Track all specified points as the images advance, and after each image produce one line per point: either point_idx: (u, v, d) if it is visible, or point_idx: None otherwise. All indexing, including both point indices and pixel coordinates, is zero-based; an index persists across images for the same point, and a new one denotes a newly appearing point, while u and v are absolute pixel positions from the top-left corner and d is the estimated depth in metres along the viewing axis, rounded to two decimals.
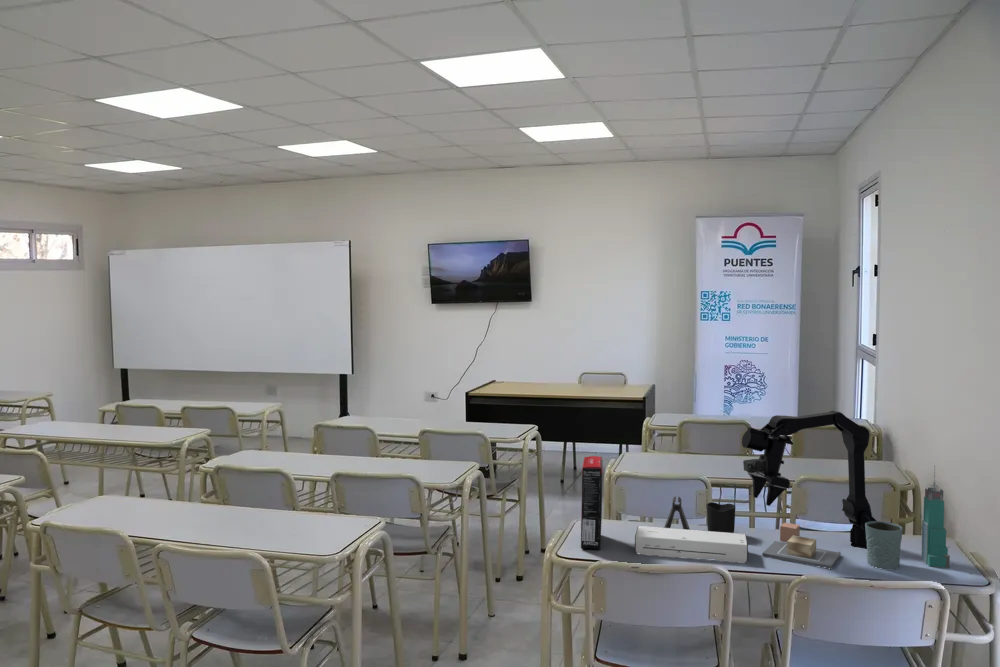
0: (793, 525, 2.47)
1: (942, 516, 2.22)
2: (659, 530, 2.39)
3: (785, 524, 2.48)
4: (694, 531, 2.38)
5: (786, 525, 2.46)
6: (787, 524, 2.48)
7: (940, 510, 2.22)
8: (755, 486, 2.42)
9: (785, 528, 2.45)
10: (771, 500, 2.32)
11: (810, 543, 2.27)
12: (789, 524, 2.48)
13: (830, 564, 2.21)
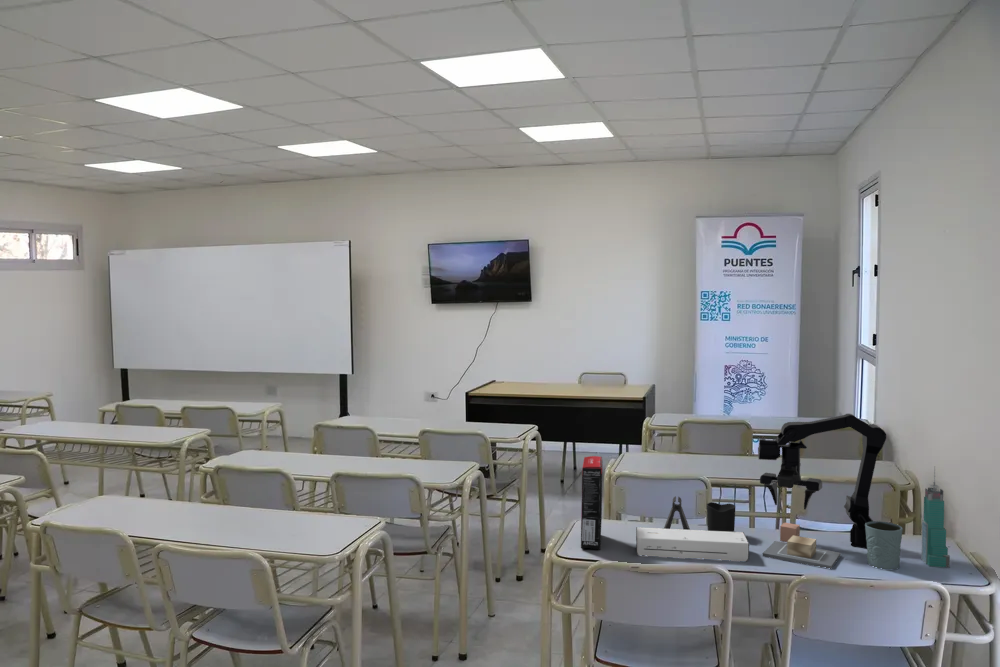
0: (793, 525, 2.47)
1: (942, 516, 2.22)
2: (659, 531, 2.38)
3: (785, 524, 2.48)
4: (693, 531, 2.38)
5: (786, 525, 2.46)
6: (787, 524, 2.48)
7: (940, 510, 2.22)
8: (775, 494, 2.48)
9: (785, 528, 2.45)
10: (807, 504, 2.43)
11: (810, 543, 2.27)
12: (789, 524, 2.48)
13: (830, 564, 2.21)
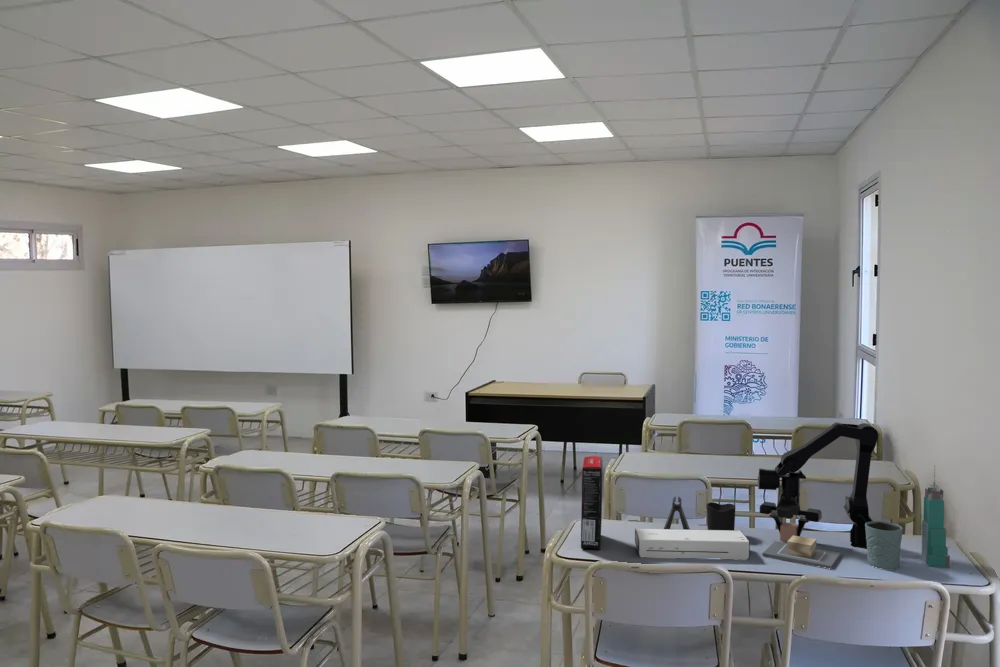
0: (793, 525, 2.47)
1: (942, 516, 2.22)
2: (659, 532, 2.37)
3: (785, 524, 2.48)
4: (692, 531, 2.38)
5: (786, 525, 2.46)
6: (787, 524, 2.48)
7: (940, 510, 2.22)
8: (780, 525, 2.48)
9: (785, 528, 2.45)
10: (800, 533, 2.45)
11: (810, 543, 2.27)
12: (789, 524, 2.48)
13: (830, 564, 2.21)
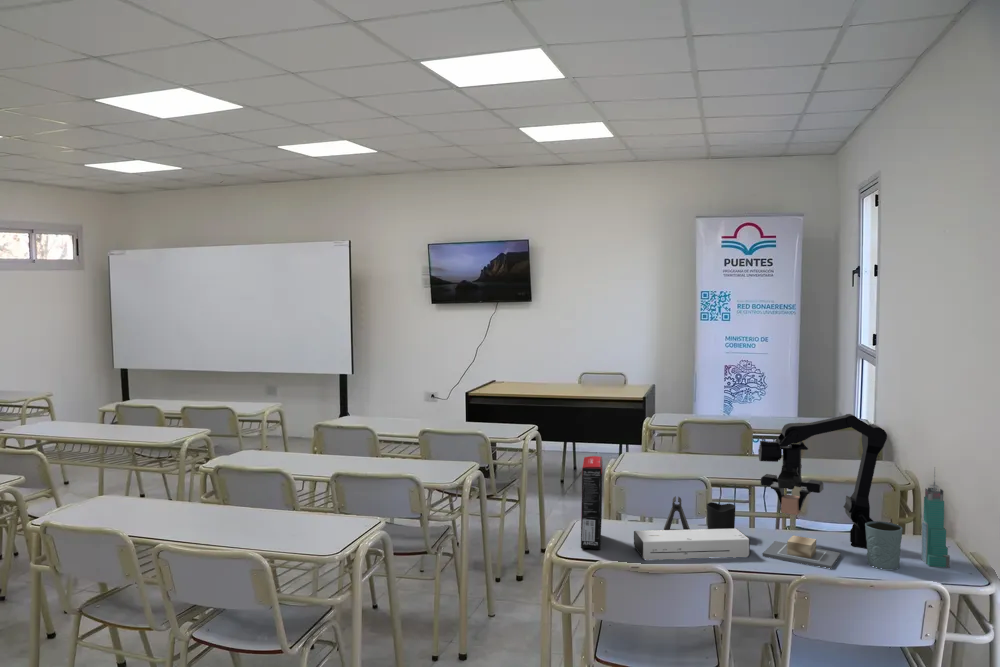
0: (795, 496, 2.45)
1: (942, 516, 2.22)
2: (659, 533, 2.36)
3: (786, 496, 2.46)
4: (690, 530, 2.39)
5: (787, 497, 2.44)
6: (788, 496, 2.46)
7: (940, 510, 2.22)
8: (781, 497, 2.46)
9: (786, 499, 2.43)
10: (802, 504, 2.43)
11: (810, 543, 2.27)
12: (790, 496, 2.46)
13: (830, 564, 2.21)
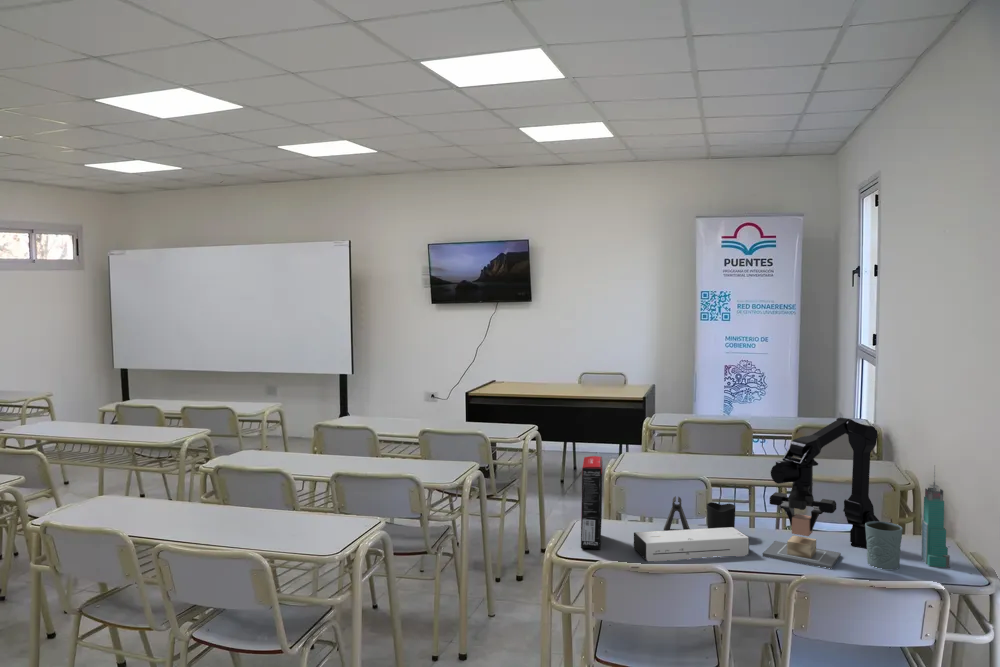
0: (806, 516, 2.31)
1: (942, 516, 2.22)
2: (659, 534, 2.35)
3: (797, 516, 2.32)
4: (689, 530, 2.39)
5: (798, 517, 2.30)
6: (799, 516, 2.32)
7: (940, 510, 2.22)
8: (792, 516, 2.32)
9: (797, 520, 2.29)
10: (813, 525, 2.29)
11: (810, 543, 2.27)
12: (801, 515, 2.32)
13: (830, 564, 2.21)
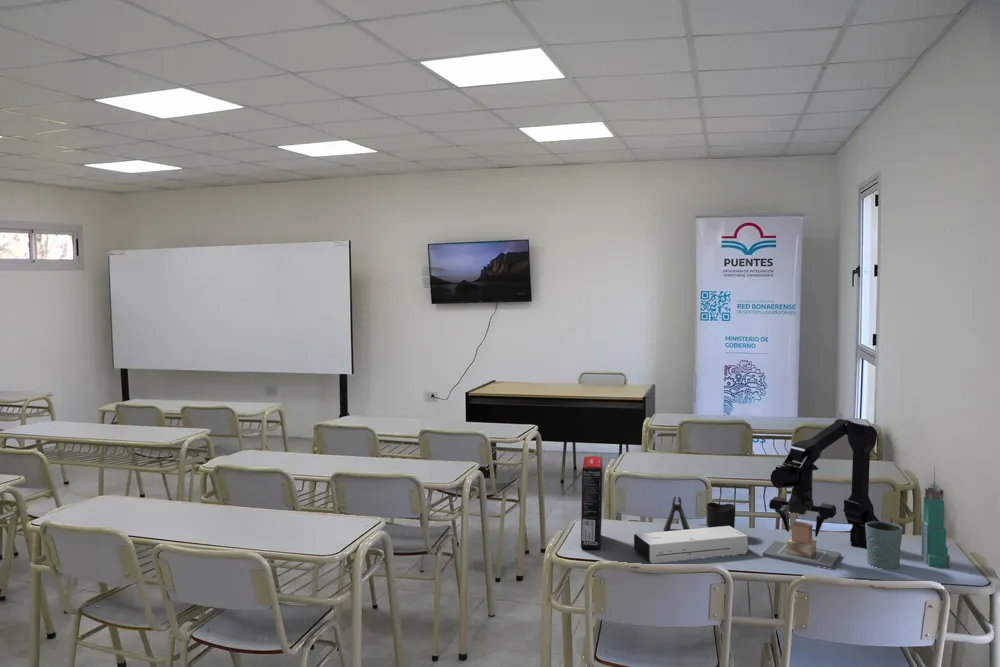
0: (806, 524, 2.31)
1: (942, 516, 2.22)
2: (660, 535, 2.34)
3: (797, 523, 2.32)
4: (688, 530, 2.39)
5: (798, 524, 2.30)
6: (799, 523, 2.32)
7: (940, 510, 2.22)
8: (786, 520, 2.33)
9: (797, 527, 2.29)
10: (819, 530, 2.28)
11: (810, 543, 2.27)
12: (801, 523, 2.32)
13: (830, 564, 2.21)
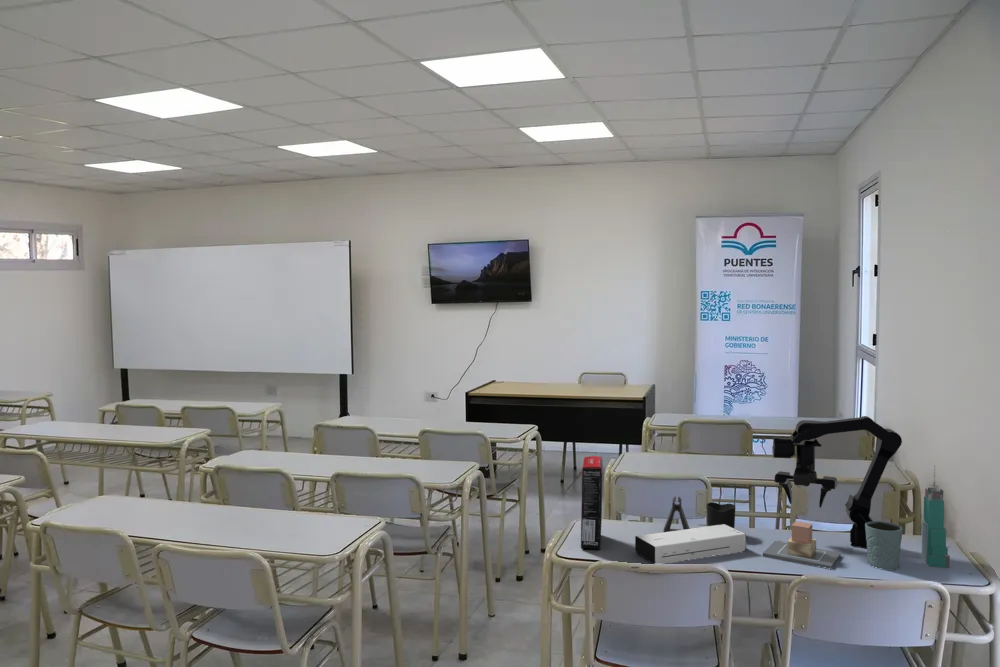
0: (806, 524, 2.31)
1: (942, 516, 2.22)
2: (661, 536, 2.33)
3: (797, 523, 2.32)
4: (687, 530, 2.39)
5: (798, 524, 2.30)
6: (799, 523, 2.32)
7: (940, 510, 2.22)
8: (789, 493, 2.47)
9: (797, 527, 2.29)
10: (822, 502, 2.42)
11: (810, 543, 2.27)
12: (801, 523, 2.32)
13: (830, 564, 2.21)
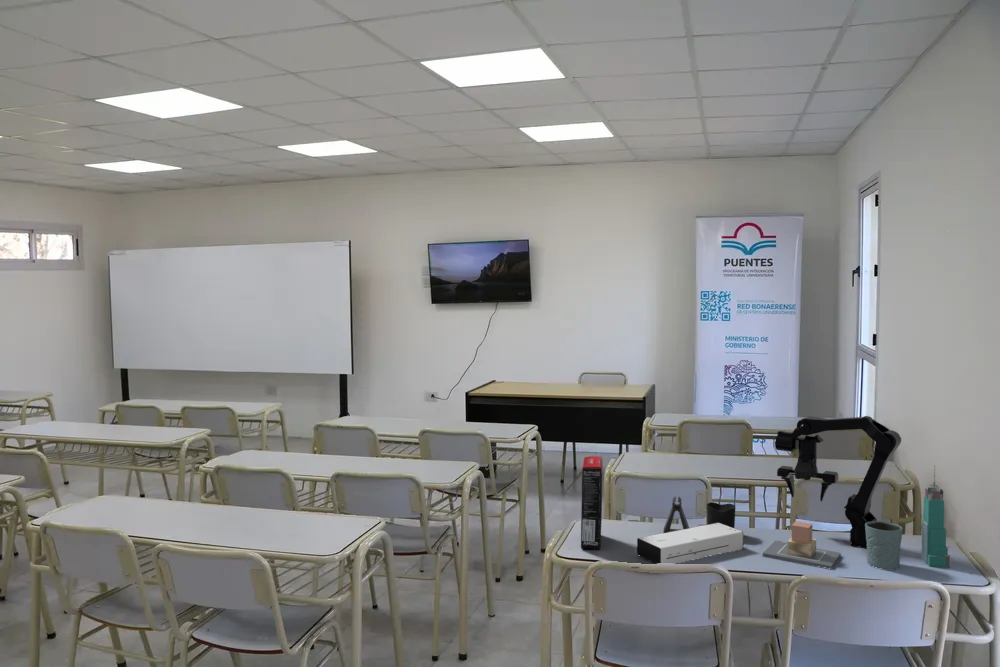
0: (806, 524, 2.31)
1: (942, 516, 2.22)
2: (663, 537, 2.32)
3: (797, 523, 2.32)
4: (685, 530, 2.39)
5: (798, 524, 2.30)
6: (799, 523, 2.32)
7: (940, 510, 2.22)
8: (791, 486, 2.55)
9: (797, 527, 2.29)
10: (823, 496, 2.50)
11: (810, 543, 2.27)
12: (801, 523, 2.32)
13: (830, 564, 2.21)
